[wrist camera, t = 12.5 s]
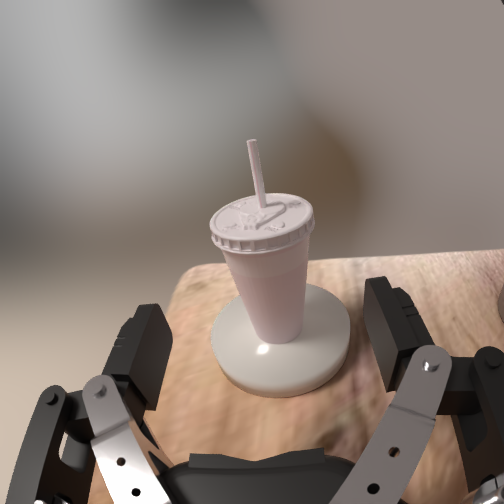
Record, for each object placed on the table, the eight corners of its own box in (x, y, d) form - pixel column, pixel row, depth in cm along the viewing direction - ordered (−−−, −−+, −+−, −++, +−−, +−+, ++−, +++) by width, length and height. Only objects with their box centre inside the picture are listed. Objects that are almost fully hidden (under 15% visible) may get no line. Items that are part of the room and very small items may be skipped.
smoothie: (325, 301, 25) (313, 127, 18) (312, 363, 20) (295, 153, 13) (252, 297, 27) (218, 136, 20) (226, 352, 22) (169, 165, 15)
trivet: (278, 284, 31) (275, 268, 30) (373, 328, 24) (375, 310, 23) (191, 349, 26) (184, 333, 25) (287, 424, 18) (284, 411, 17)
